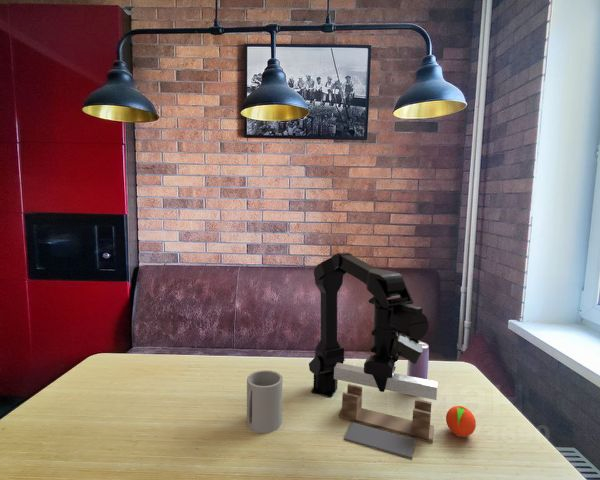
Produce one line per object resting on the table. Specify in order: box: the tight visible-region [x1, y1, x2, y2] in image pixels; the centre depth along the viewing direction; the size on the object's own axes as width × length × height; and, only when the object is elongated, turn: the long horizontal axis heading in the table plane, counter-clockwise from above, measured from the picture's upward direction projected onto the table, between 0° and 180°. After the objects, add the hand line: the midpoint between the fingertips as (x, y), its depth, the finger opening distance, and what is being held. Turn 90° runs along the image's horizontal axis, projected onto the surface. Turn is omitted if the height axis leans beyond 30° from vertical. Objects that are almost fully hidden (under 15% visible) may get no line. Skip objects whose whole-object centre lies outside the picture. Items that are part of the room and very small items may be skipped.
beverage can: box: [406, 340, 430, 380], centre depth 110 cm, size 6×6×15 cm
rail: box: [334, 363, 438, 401], centre depth 86 cm, size 24×3×3 cm, turn 68°
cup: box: [246, 369, 284, 434], centre depth 93 cm, size 9×9×12 cm
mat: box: [343, 421, 416, 460], centre depth 87 cm, size 16×7×1 cm, turn 67°
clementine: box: [445, 405, 477, 438], centre depth 90 cm, size 8×7×7 cm
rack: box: [337, 383, 435, 444], centre depth 94 cm, size 24×6×7 cm, turn 67°
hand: (383, 388), depth 86 cm, fingers closed on rail, 3 cm apart
